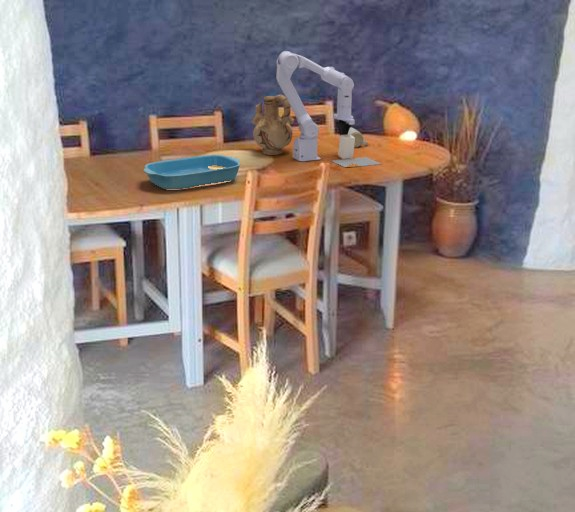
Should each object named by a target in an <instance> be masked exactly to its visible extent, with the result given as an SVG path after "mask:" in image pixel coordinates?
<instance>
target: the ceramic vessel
mask: <svg viewBox="0 0 575 512" xmlns="http://www.w3.org/2000/svg"><path fill="white" fill-rule="evenodd" d="M280 103H282V106H283V114H281V116H280V112H279V110H280V109H279V104H280ZM263 105H264V111H263ZM254 109H255V115H254V117H253V119H252V120H251V121H250V122H251V123H252V124H253V125H254V126H255V127H254V129H253V131H252V137H253V139H254V142H255V143H256V145H257V146H258V147H260V148H262V150H261V151H262V154H263V153H264V155H266V154H267V156H277V155H280V154H283V149H284V148H285V147H287V146H288V145H290V143H291V142H292V140H293V133H294V132H293V127H292V126H291V125H292V124H294V122H295V119H294V118H293V117H292V116H291V110H292V108H291V106H290V104H289V102H288V100H287V98H286V96H285V95H283V94H277V95H275V96H274V95H273V96H272V95H267V96H264V97H263V102H262V101H260V102H259V103H258V104H256V105H255V106H254ZM263 113H264V114H263Z"/></svg>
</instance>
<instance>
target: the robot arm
mask: <svg viewBox="0 0 575 512" xmlns="http://www.w3.org/2000/svg"><path fill="white" fill-rule="evenodd" d="M302 68H305V69H307V70H310V71H312V72H313V73H316V74H318V75H320V79H321V80H322V81H324V82H326V83H328V84H330V85H332V86H333V87H336V88H337V100H336V101H337V106H336V108H337V110H336V113H333V119H334V120H338V121H335V125H336V127H337V130H338V134H339V136H340V135H347V134H348V132H349V129H350V127H352V126H353V125H355V122H356V120H355V119H354V116H353V115H352V101H353V100H352V98H353V97H352V93H353V91H352V90H353V89H354V86H355V83H354V80H353V79H352V78H351V77H350V76H348V75H346V74H345V73H344V72H340V71H338V70H336V69H335V67H333V66H326V67H323V66H321V65H320V64H318V63H316V62H314V61H312V60H310V59H309V58H307V57H305V56H303V55H299V54H297V53H294V52H291V51H288V50H283V51H282V52H281V53H280V54H279V56H278V57H277V60H276V75H275V76H276V81H277V83H278V85H279V87H280V88H281V91H282V93H283V94H284V95H283V96H285V97H286V98H287V100H288V102H289V104H290V108H291V110H292V112H293V113H294V116H295V117H296V121H297V123H298V130H299V132H300V134H299V137H296V138H294V139H293V145H292V149H293V150H292V158H293V159H295V160H297V161H298V162H307V161H308V162H309V161H310V162H311V161H318V160H322V158H321V157H319V156H318V135H319V132H320V128H319V126H318V125H319V124H317V123H316V122H314V121H313V119H312V117H311V116H310V115H309V113H308V112H307V109H306V107H305V105H304V103H303V102H302V100H301V98H300V96H299V94H298V92H297V90H296V88H295V86H294V84H293V82H292V80H291V78H292V75H293V73H294V71H295V70H296V69H302Z"/></svg>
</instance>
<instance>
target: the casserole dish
mask: <svg viewBox="0 0 575 512" xmlns="http://www.w3.org/2000/svg"><path fill="white" fill-rule="evenodd" d="M212 165H217V166H222V167H226V168H223V169H217V170H210V169H209V168H208V166H212ZM240 166H241V163H240V159H239V158H236V157H233V156H227V155H222V154H207V155H206V154H204V155H199V156H190V157H183V158H174V159H168V160H167V159H166V160H159V161H153V162H149V163H147V164H145V165H144V169H143V172H144V173H145V174H146V175H147V176H148V178H149V181H150V182H151V183H152V184H153V183H154V184H153V185H155V186H156V185H157V186H156V187H158V186H159V187H158V188H160V187H161V188H160V189H162V188H164V189H183V188H190V187H194V186H199V185H205V184H211V183H218V182H224V181H230V180H232V181H234V180H235V179H236V178H237V176H238V174H239V173H238V172H239V170H240V169H239V168H240ZM202 171H204V172H202ZM195 172H198V173H195ZM190 173H192V174H190ZM233 179H234V180H233ZM164 189H163V190H164Z"/></svg>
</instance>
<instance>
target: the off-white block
mask: <svg viewBox="0 0 575 512" xmlns="http://www.w3.org/2000/svg"><path fill="white" fill-rule="evenodd" d="M338 143H339V145H338V155H337V156H338V158H340V159H341V160H343V159H351V158H354V154H355V153H354V152H355V148H354V144H355V137H353V136H352V135H350V134H347V135H340V134H339V142H338Z"/></svg>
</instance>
